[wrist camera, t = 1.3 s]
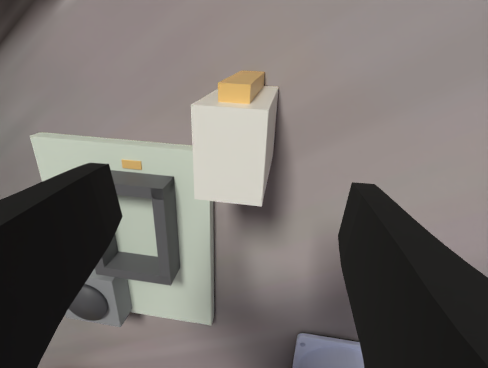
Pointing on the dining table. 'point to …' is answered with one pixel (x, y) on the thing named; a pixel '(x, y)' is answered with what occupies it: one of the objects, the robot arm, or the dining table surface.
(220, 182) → the plug
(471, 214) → the dining table surface
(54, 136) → the board
